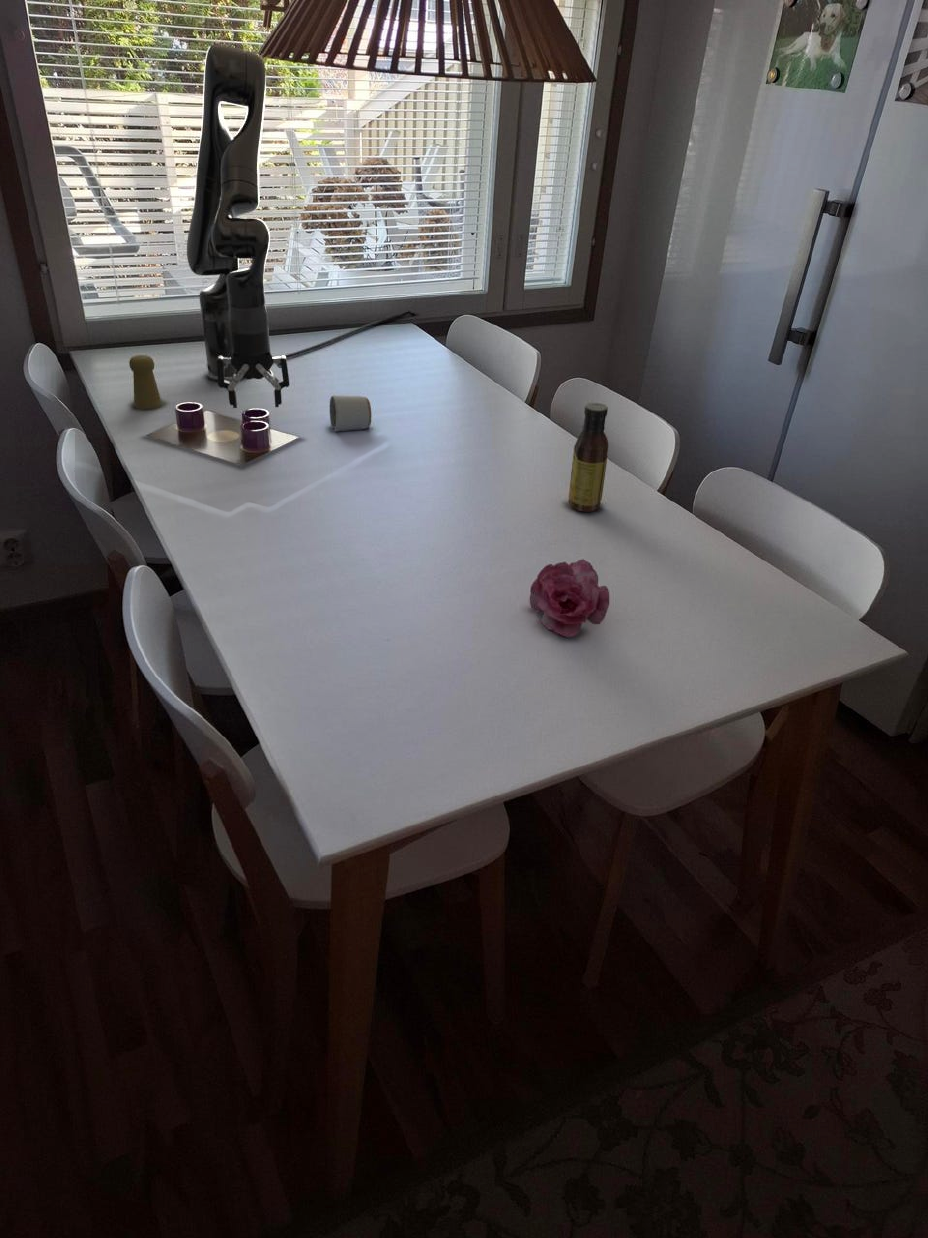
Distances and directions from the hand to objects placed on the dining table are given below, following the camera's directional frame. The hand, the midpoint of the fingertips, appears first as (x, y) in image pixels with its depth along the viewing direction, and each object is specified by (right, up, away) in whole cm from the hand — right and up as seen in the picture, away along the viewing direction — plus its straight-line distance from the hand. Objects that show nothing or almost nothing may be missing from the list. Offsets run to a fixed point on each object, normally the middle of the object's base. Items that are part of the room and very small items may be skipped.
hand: (256, 406), depth 179 cm
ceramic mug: (+18, -2, +10) cm, 21 cm away
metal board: (-7, -7, +1) cm, 10 cm away
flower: (+59, -45, -50) cm, 89 cm away
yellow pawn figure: (-28, +4, +15) cm, 33 cm away
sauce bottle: (+66, -23, -17) cm, 72 cm away
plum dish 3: (+1, -9, -2) cm, 9 cm away
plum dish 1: (-15, -3, +4) cm, 16 cm away
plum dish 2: (-1, -5, +3) cm, 6 cm away
